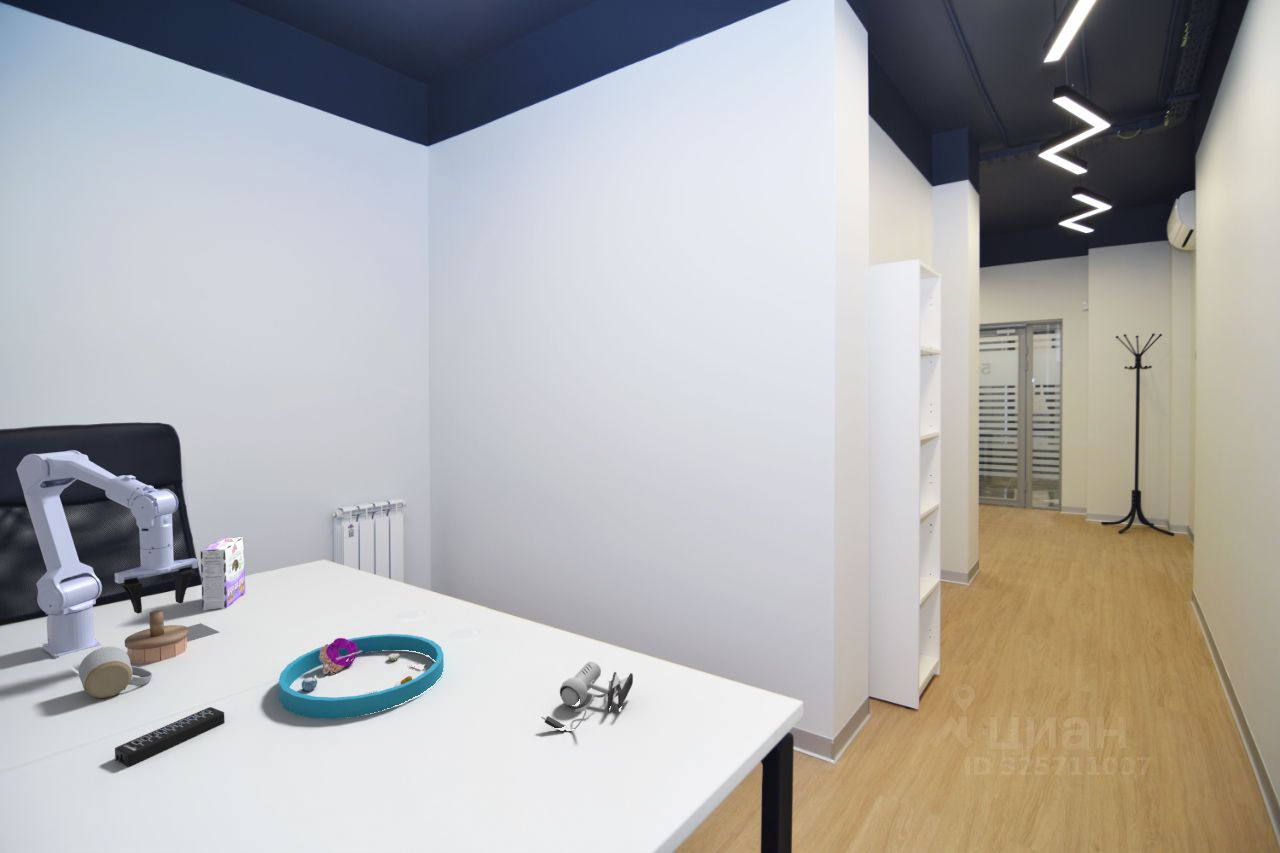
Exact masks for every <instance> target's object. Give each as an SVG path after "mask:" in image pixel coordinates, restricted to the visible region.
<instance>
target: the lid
mask: <svg viewBox="0 0 1280 853" xmlns="http://www.w3.org/2000/svg"><path fill="white" fill-rule="evenodd" d="M148 614H149V618H148V619H149V628H146V629H143V630H140V631H136V632H134V633H132V634H130V635H129V636H127V637H125V639H124V647H125V648H126V649H127V648H128V649H135V650H141V649H151V648H157V647H162V646H166V645H169V644H172V643H175V642H178V641H180V640H182V639H184V638H185V637H187V636H188V628H187V627H188V626H185V625H180V624H171V625H165V623H164V622H165V621H164V618H165V617H164V610H161V609H160V610H153V611H150V612H149V613H148Z"/></svg>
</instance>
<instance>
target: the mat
mask: <svg viewBox="0 0 1280 853" xmlns="http://www.w3.org/2000/svg"><path fill="white" fill-rule="evenodd" d="M186 627H187V628H188V636H187V643H189V642H191V641H195V640H198V639H202V638H206V637H208V636H212V635H215V634H219V633H220V631H218V630H217V629H214V628H212V627H210V626H208V625H206V624H204V623H202V622H201V623H200V622H199V623H197V624H193V625H189V626H186Z"/></svg>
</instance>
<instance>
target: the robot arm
mask: <svg viewBox="0 0 1280 853" xmlns="http://www.w3.org/2000/svg"><path fill="white" fill-rule="evenodd" d="M16 472H17V477H18V479H19V482H20V484H21V485H20V486H21V488H22V491H23V496H24V500H25V503H26V506H27V509H28V513H29V516H30V519H31V523H32V525H33V529H34V533H35V535H36V539H37V542H38V546H39V548H40V551H41V554H42V558H43V562H44V564H45V568H46V572H45V573H44V574H43V575H42V576H41V577H40V579H39V580H38V581H37V582H36V587H37V597H36V598H37V599H36V600H37V605H38V606H39V608H40V609H41V610H42V611H43V612H44V613H45V615H47V617H46V630H47V631H46V632H47V633H46V634H47V644H43V645H42V646H41V648H42V650H44V651H45V652H47V653H49V654H50V655H51V656H52V657H54V658H60V657H62V656H65V655H69V654H72V653H76V652H79V651H83V650H87V649H91V648H94V647H99V646H102V642H100V641H99V640H97V639H95V624H94V608H93V607H94V605H96V601H97V599H98V598H100V596H101V594H102V590H103V585H102V581H101V580H100V579H99V578H98V577H97V575H96V574H95V572H94V568H93V567H92V566H90V565H88V564H85V563H83V562H81V561H80V560H79V556H78V552H77V549H76V547H75V546H76V545H75V544H74V543H75V542H74V539H73V536H72V533H71V529H70V526H69V523H68V521H67V517H66V514H65V510H64V506H63V504H62V500H61V498H60V495H61V494H62V492H63V491H64V489H66V488H69V486H70V485H72V484H73V483H74V482H75V481H77V480H79V481H81V482H84V483H86V484H89V485H91V486H94V487H96V488H99V489H102V490H103V491H104V492H105V496H106V498H107V499H110V500H111V501H113V502H115V503H118V504H119V505H122V506H124V507H126V508H128V509H129V510H130V513H131V515H132V516H133V517H134V518H135V521H136V526H137V527H138V531H139V551H140V552H139V554H140V557H139V558H140V566H137V567H134V568H131V569H126V570H123V571H120V572H115V573H114V583H116V584H118V585H119V584H120V586H121V587H122V588H123V589H124V591H125V593H126V594H127V597H128V598H129V600H130V602H131V604H132V609H133V612H134V613H136V614H139V615H140V614H142V613H143V605H142V604H143V603H142V589H143V583H141V582H140V580H139V579H144V578H149V577H154V576H159V575H164V574H168V573H172V574H173V580H174V589H175V591H174V596H175V602H176V603H177V604H182V603H184V600H185V596H186V591H187V589H188V586H189V584H190V582H191V580H192V578H193V577H194V576H195V570H194V569H196V568H198V559H197V558H194V557H191V558H186V559H178V560H175V559H174V558H175V557H174V535H173V533H174V532H173V514H174V513H175V512H176V511H177V510H178V507H179V498H178V496H177V495H176V494H175V493H174V492H173V491H172V490H170V489H169V488H162V489H158V488H157V489H156V488H154V486H153V485H150V484H149V485H148V484H146V483H143V482H141V481H139V480H138V479H136V477H137V476H134V475H132V474H129V475H123V474H122V475H118V476H117V475H115V474H113V473H112V472H110V471H108V470H106V469H105V468H103V467H101V466H100V465H97V464H96V463H95V462H92V461H91V460H90V459H89V456H88V455H87V454H84V453H81V452H80V451H78V450H73V449H70V450H66V451H57V452H47V453H45V452H44V453H30V454H27V455H25V456H24V457H23V458H22V460H20V463H19V464H18V466H17V467H16ZM68 578H70V579H68ZM63 580H64V581H63Z"/></svg>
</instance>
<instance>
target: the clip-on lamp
mask: <svg viewBox="0 0 1280 853" xmlns="http://www.w3.org/2000/svg"><path fill="white" fill-rule="evenodd" d="M601 673H602V669H601V667H600V665H599V664H598V663H597V662H595V661H588V662H586V663H585V664H584V666H583V667H582V668H580V670H579V671H578V672H577V673H576V674H575V675H574V677H570V678H568V679H566V680H564V681H563V683H562V684H561V686H560V689H559V696H560V698H561V700H562V703H563V704H565V705H566V706H568V705H569V707H571V706H572V705H575V704H576V703H577V702H578V701H579V699H580V704H579V705H580V706H581V704H582V703H583V702H584V703H585V701H586V700H587V697H588V691H589V690H590V689H592V690H594V691H597V692H599V693H603V694H597V693H596V694H592V696H591V698H590V701H589V702H587V704H585V705H584V706H582V707H580V708H576V709H574V713H578V712H582V711H584V713H583V716H582V718H581V719H580V721H579V722H578V723H577V725H576V726H575V727H574V728H573V729H575V730H576V729H578V727H579V726H580V724H581V723H583V722H582V721H583V720H584V719H585V717H586V715H587V711H588V710H587V708H588V707H589V706H591V705H592V703H593V701H594V698H599V699H600V698H605V696H607V709H608V708H610V706H611V705H612V704H613V700H615V698H617V705H618V707H617V708H620V707H621V706H622V704H624V703H623V702H625V701H626V699H627V696H628V695H629V693H630V690H631V688H632V686H633V683H634V677H633V676H634V674H633V673H631V672H630V673H629V674H628V676H627V677H625V678H622V679H620V677H619V676H618V675H617V672H616V671H613V675H612V679H611V680H608V688H607V687H604V686H601V685H599V684H596V682H597V680H598V679H599V677H600V676H601ZM584 703H583V704H584ZM583 704H582V705H583ZM540 718H541V719H543V720H544V723H545V724H547V726H550V727H551V728H553V727H554V729H555V728H562V727H564V726H566V725H565V724H562V723H561V722H559V721H557V720H556V719H554V718H553V717H551V716H549V715H548V716H544V715H542V716H541V717H540Z"/></svg>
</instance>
